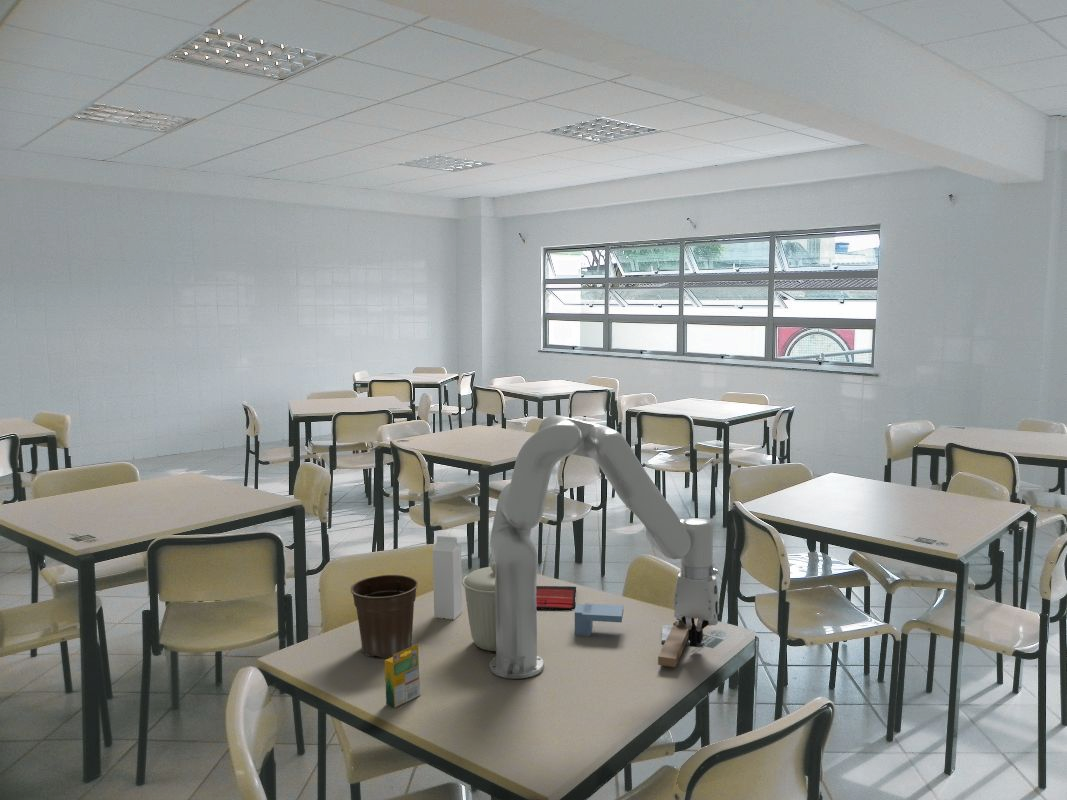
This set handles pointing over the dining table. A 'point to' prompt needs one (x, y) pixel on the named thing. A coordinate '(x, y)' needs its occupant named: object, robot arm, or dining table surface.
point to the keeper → (595, 616)
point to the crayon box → (402, 676)
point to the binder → (556, 597)
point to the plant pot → (385, 613)
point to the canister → (482, 606)
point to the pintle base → (666, 631)
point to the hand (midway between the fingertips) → (695, 644)
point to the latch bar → (674, 644)
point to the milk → (447, 578)
